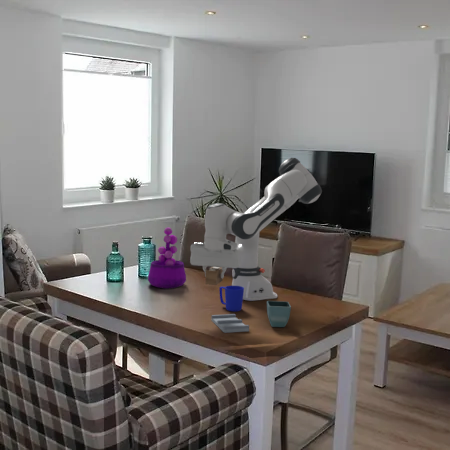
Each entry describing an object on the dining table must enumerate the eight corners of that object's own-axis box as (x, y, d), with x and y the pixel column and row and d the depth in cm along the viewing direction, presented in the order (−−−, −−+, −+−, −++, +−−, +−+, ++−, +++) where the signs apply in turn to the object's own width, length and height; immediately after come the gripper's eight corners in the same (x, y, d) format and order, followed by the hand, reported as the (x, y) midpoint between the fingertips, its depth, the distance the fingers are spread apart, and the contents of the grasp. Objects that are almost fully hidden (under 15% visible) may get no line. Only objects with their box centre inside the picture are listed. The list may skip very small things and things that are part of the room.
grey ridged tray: (234, 319, 255) (234, 313, 254) (248, 331, 239) (249, 325, 238) (211, 320, 252) (211, 315, 251) (224, 332, 236) (224, 327, 235)
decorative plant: (160, 281, 319) (162, 223, 315) (192, 286, 311) (194, 227, 307) (140, 288, 302) (141, 227, 298) (173, 293, 294) (174, 231, 290)
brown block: (212, 279, 258) (212, 266, 257) (222, 280, 257) (222, 267, 256) (205, 284, 249) (205, 270, 249) (216, 285, 248) (216, 270, 248)
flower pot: (287, 322, 252) (288, 301, 251) (290, 329, 243) (291, 306, 242) (265, 322, 252) (266, 300, 251) (267, 328, 243) (268, 306, 242)
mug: (225, 305, 277) (226, 283, 275) (246, 310, 269) (247, 287, 268) (213, 308, 270) (214, 285, 269) (235, 313, 263) (236, 290, 262)
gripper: (188, 243, 251) (187, 276, 252) (237, 246, 246) (236, 280, 247) (192, 241, 257) (192, 273, 259) (241, 244, 252) (240, 277, 254)
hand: (214, 277), depth 253 cm, fingers closed on brown block, 5 cm apart
